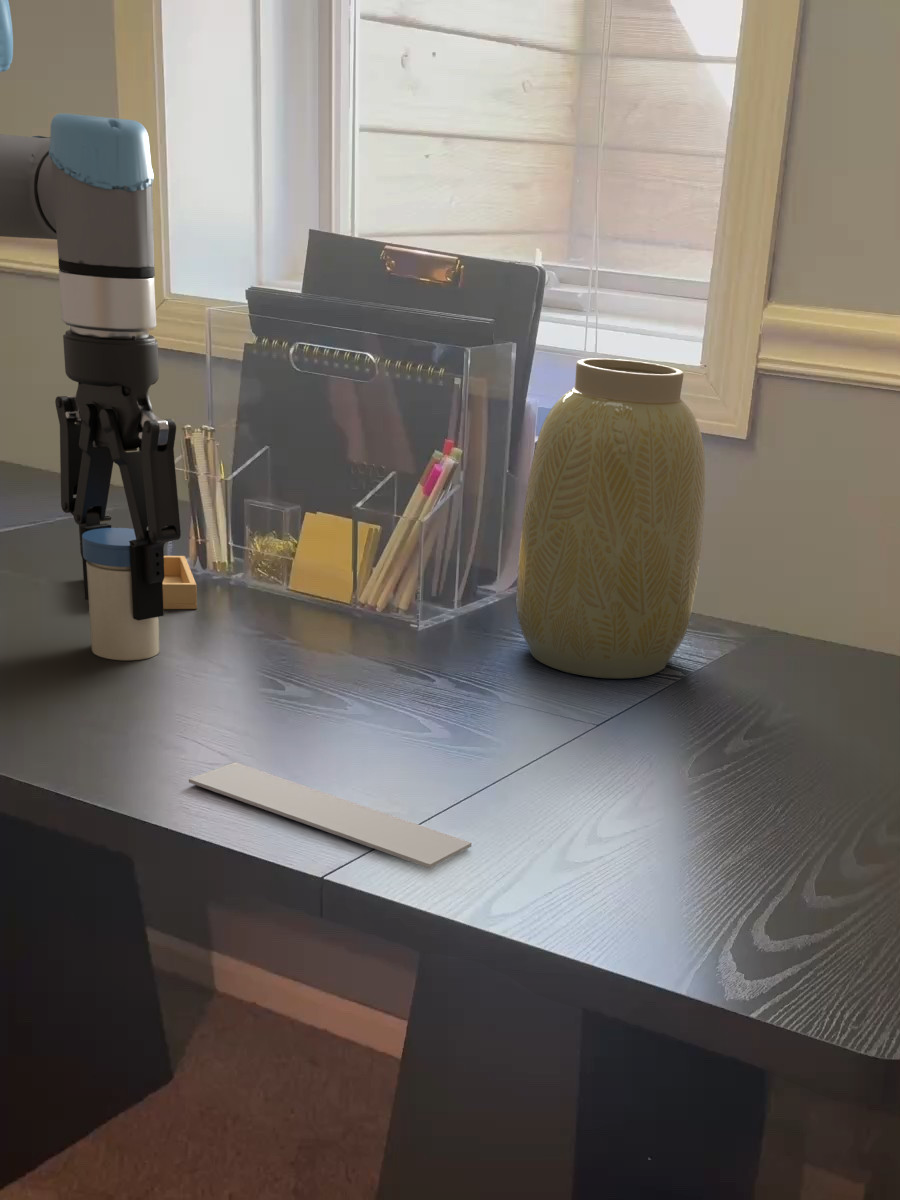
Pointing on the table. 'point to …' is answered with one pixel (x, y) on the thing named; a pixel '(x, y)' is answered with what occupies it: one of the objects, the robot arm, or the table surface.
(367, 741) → the table surface
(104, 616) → the jar
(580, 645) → the vase
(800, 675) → the table surface
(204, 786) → the nameplate
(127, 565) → the lid
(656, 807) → the table surface
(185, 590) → the tray
